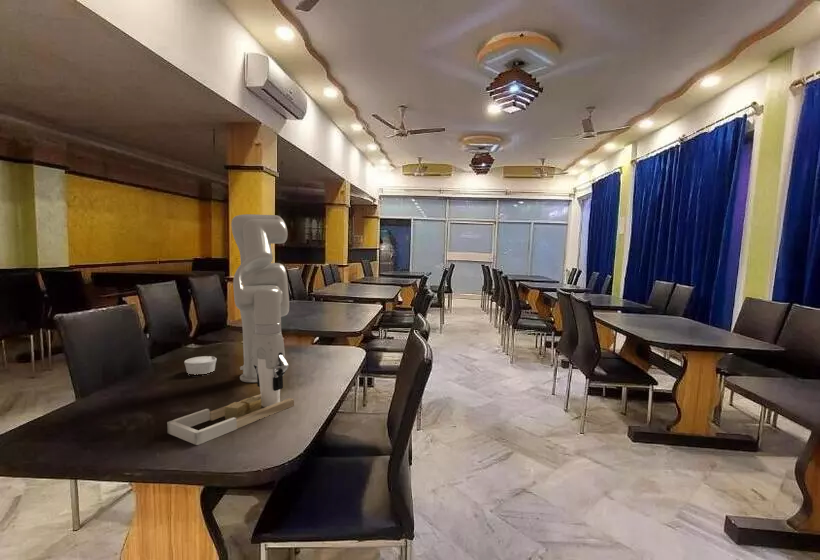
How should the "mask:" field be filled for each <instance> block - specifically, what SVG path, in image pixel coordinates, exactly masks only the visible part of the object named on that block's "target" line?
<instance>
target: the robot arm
mask: <svg viewBox="0 0 820 560" xmlns="http://www.w3.org/2000/svg"><path fill="white" fill-rule="evenodd" d="M230 226H231V233H232V235H233V236H232V237H233V239H234V241H235V244H236V246H237V248H238V251H239V257H240V265H239V266H238V268H236V270H235V273H234V276H233V280H232V281H233V282H232V284H233V287H232V288H233V297H234V298H233V300H234V304H235V307H236V309H238V310H239V312H240V313H239V314H240V318H241V325H242V327H241V328H242V346H243V347H242V349H243V365H241V366H239V369H240V371H241V370H242V374H241V375H240V376H239V380H240V381H241V382H244V383H257V387H259V388H260V384H259V376H258V358H259V359H265V360H266V368H268V369H273V374H274V377H273V390H274V391H277V390H279V389H280V390H283V388H284V378H283V377H284V376H285V373H286V372H287V370H288V368H289V367H290V365H289V363H288V362H287V360H286V352H285V343H284V338H283V334H282V317H285V316H287V315H288V314H289V311H290V295H289V283H288V273H287V269H286V268H285V266H284V265H283V263H279V262H273V259H274V258H273V257H274V256H273V251H272V250H273V249H272V245H274V244H285V243H286V241H287V240H288V235H289V234H288V233H289V232H288V228H287V224H286V222H285V221H284V219H283V218H282V217H281V215H275V214H251V213H250V214H247V213H246V214H238V215H235V216H234V217H233V218H232V219H231V225H230ZM278 361H279V366H277V364H278ZM277 368H279V371H278V372H277V370H276V369H277Z"/></svg>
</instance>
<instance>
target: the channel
mask: <svg viewBox="0 0 820 560" xmlns="http://www.w3.org/2000/svg"><path fill="white" fill-rule="evenodd" d="M252 397H256V398H260V399H261V393H260V394H257V395H254V396H252ZM238 402H240V403H241V400H240V401H238ZM292 407H295V399H294V398H291V397H289V398H285V399H284V400H282V401H281V400H280V402H278V403H276V404H273V405H270V406H268V407H262V408H261V409H260V410H257V411H255V412H252V413H249V414H247V415H244V416H241V417H239V418H236V421H237V429H239V428H242V427H245V426H247V425H250V424H252V423H254V422H256V421H257V422H258V421H260V420H261V419H264V417H265V418H267V417H269V415H270V416H271V415H274V413H275V414H277V413H280V412H281V411H284V410H286V409H289V408H292ZM223 417H225V406H221V407H219V408H216V409H214V410H210V420H209V421H215V420H217V419H219V418H223ZM259 419H260V420H259Z"/></svg>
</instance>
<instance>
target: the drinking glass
mask: <svg viewBox="0 0 820 560" xmlns="http://www.w3.org/2000/svg"><path fill="white" fill-rule="evenodd" d="M277 366H279V361H278V364H277ZM276 370H277V372H278V371H279V368H277V369H276ZM258 376H259V384H260V387H259V391H260V394H261V407H262V408H265V407H268V406H270V405H273V404H276V403H278V402H281V389H279V390H277V391H274V390H273V377H274V374H273V369H268V368H266V360H265V359H259V358H258Z"/></svg>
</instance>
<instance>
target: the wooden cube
mask: <svg viewBox="0 0 820 560" xmlns="http://www.w3.org/2000/svg"><path fill="white" fill-rule="evenodd" d="M240 401H241V403H246V407H247V414H249V413H252V412H255V411H257V410H260V409H262V404H261V399H260V398H256V397H253V396H250V397H247V398H244V399H241V400H240Z"/></svg>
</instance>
